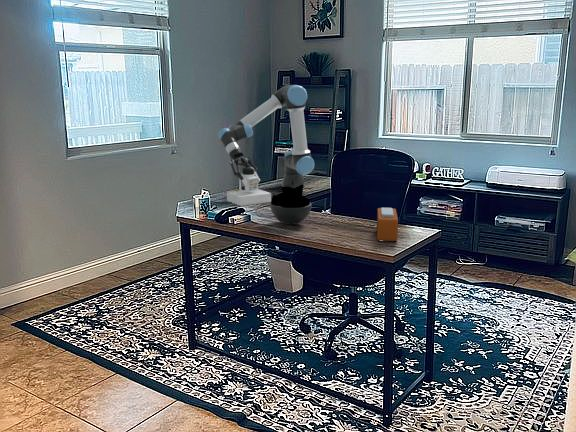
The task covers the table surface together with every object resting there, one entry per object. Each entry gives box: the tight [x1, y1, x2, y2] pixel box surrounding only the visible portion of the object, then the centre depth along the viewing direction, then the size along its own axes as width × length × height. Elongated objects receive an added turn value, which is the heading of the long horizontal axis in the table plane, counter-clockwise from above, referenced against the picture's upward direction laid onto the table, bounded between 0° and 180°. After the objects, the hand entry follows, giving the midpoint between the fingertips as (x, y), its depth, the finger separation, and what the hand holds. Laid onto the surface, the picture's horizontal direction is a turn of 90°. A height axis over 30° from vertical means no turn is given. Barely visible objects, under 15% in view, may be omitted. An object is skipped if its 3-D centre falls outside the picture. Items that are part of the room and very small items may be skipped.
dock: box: [226, 188, 272, 207], centre depth 322 cm, size 20×16×5 cm
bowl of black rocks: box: [269, 184, 313, 225], centre depth 272 cm, size 20×20×19 cm
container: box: [238, 167, 259, 192], centre depth 319 cm, size 8×8×13 cm
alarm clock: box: [376, 207, 399, 242], centre depth 254 cm, size 24×8×11 cm, turn 172°
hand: (252, 182), depth 318 cm, fingers closed on container, 9 cm apart
